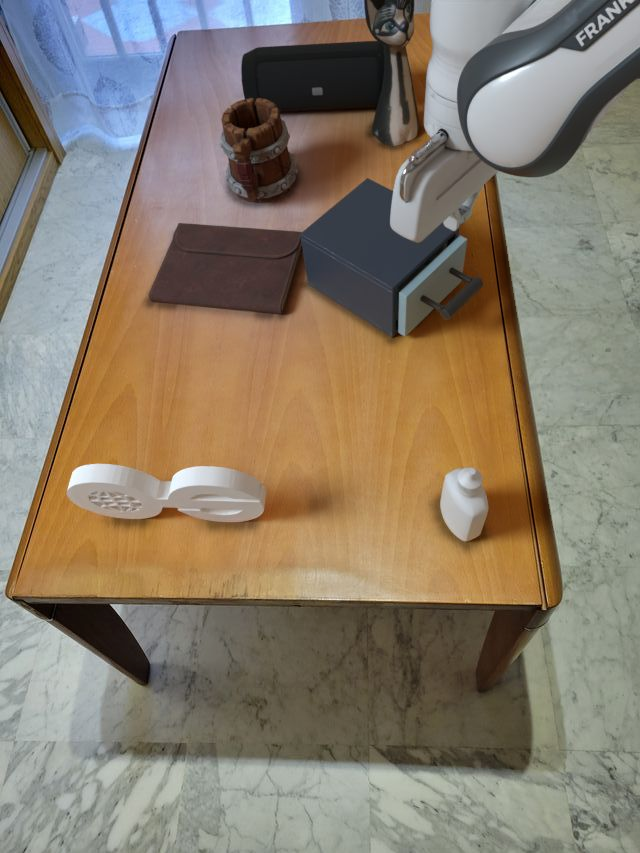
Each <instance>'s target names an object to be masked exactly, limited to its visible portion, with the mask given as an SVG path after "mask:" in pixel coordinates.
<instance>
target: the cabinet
mask: <svg viewBox="0 0 640 853" xmlns="http://www.w3.org/2000/svg"><path fill="white" fill-rule="evenodd" d="M392 196H393V190H392V189H390V188H389V187H387V186H384V185H382V184H381V183H378V182H376V181H374V180H372V179H370V177H369V178H368V177H366V178H365V179H364V180H363V181H362V182H361V183H360V184H358V185H357V186H356V187H354V188H353V189H352V190H350V192H348V193H347V194H346V195H345V196H343V197H342V198H341V199H340V200H339V201H338V202H336V203H335V204H334V205H333V206H331V208H329V209H328V210H327V211H326V212H324V213H323V214H322V215H321V216H320V217H319V218H317V219H316V220H315V221H314V222H312V223H311V224H310V225H309V226H308V227H306V228H305V229H304V230H302V231H301V232H302V233H300V236H301V242H302V253H303V260H304V267H305V268H304V269H305V274H306V279H307V285H308V286H310V287H311V288H313V289H314V290H316V291H318V292H319V293H320V294H322V295H324V296H325V297H326V298H328V299H330V300H332V301H333V302H334V303H336V304H338V305H339V306H341V307H343V308H344V309H346V310H347V311H349V312H350V313H352V314H354V315H355V316H356V317H359V318H360V319H361V320H363V321H365V323H368V324H370V325H371V326H372V327H374V328H376V329H377V330H379V331H380V332H382V333H384V334H385V335H387V336H389V337H390V338H394V337H395V335H397V334H399V333H398V322H399V319H397V320H396V289H397V288H398V287H399V286H400V285H401V284H402V283H403V282H404V281H406V280H407V279H408V278H409V277H410V276H411V275H412V274H413V273H414V272H415V271H416V270H417V269H418V268H419V267H420V266H421V265H423V264H424V263H425V262H426V261H427V260H428V259H429V258H430V257H431V256H432V255H433V254H434V253H435V252H436V251H437V250H439V249H440V248H441V247H442V246H443V245H444V244H445V243H446V242H447V247H448V246H449V245H450V244H451V243H452V242H453V241H454V240H455V239H456V238H457V237H459V236H460V227H461V226H460V227H459V228H458V229H457V230H456V231H452V230H450V229H448V228H446V227H445V226H444V223H443V222H442V223H441V224H440V225H439V226H438V227H437V228H436V229H435V230H434V231H433V232H432V233H430V234H429V235H428V236H427V237H426V238H425V239H424V240H423V241H422V242H420V243H416V242H413V241H411V240H408V239H406V238H404V237H402V236H401V235H399V234H398V233H396V232H395V231H394V230H393V229H392V228H391V226H390V213H391V203H392Z"/></svg>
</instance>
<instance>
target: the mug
mask: <svg viewBox="0 0 640 853" xmlns="http://www.w3.org/2000/svg"><path fill="white" fill-rule="evenodd" d="M221 125H222V131H221V135H220V140H221V142H219V147H220V148H221V149H222V152H223V153H224V155H225V156H226V157H227V159H228V163H227V166H226V170H225V173H226V175H225V176H224V181H226V182H227V183H228V187H229V188H230V189H231V191H232V192H233V193H234V194H235V195H236V196H237V197H238V198H239V199H241V200H244V201H246V202H249V203H254V204H255V203H258V202H259V203H260V204H263V203H270V202H273V201H276V200H279V199H281V198H282V197H283V196H285V195H286V194H288V192H290V191H291V189H293V187H294V186H295V182H296V179H297V175H298V174H299V169H298V167H297V162H296V159H295V156H294V154H293V153H291V152H290V151H289V148H288V145H289V141H290V138H291V135H290V134H291V133H289V130H288V126H287V124H286V120H284V119H283V118H282V117H281V111H279V109H278V108H277V106H276V105H275V104H274V103H273V102H272V101H269V100H266V99H263V98H257V99H256V101H255V100H254V98H249V99H245V98H244V99H240V100H238V101H236V102H234V103H232V104H231V105H230V107H227V108H226V109H225V111H224V112H223V113H222V116H221Z"/></svg>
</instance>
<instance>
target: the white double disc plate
mask: <svg viewBox="0 0 640 853" xmlns="http://www.w3.org/2000/svg"><path fill="white" fill-rule="evenodd" d="M266 495H267V489H266V486H265V484H264V483H261V480H259V479H258V478H256V477H255V476H253V475H251V474H248V473H246V472H243V471H241V470H237V469H233V468H230V467H223V466H213V465H211V466H209V465H202V466H201V465H198V466H191V467H186V468H183V469H181V470H179V471H177V472H175V474H174V475H173V476H172V478H171V480H160V479H158V478H157V477H155V476H153V475H151V474H149V473H147V472H145V471H142V470H139V469H137V468H133V467H129V466H125V465H119V464H112V463H88V464H84V465H81V466H78V467H76V468H75V469H73V471H72V473H71V476H70V479H69V482H68V486H67V488H66V497H67V499H69V500H70V501H71V502H72V503H73V504H74V505H76V506H77V507H79V508H81V509H84V510H86V511H88V512H91V513H94V514H98V515H101V516H105V517H110V518H116V519H122V520H123V519H124V520H143V519H148V518H154V517H156V516H158V515H159V514H161V513H162V510H163V508H177V511H179V512H180V513H183V514H185V515H188V516H191V517H193V518H196V519H199V520H205V521H210V522H219V523H240V522H241V523H242V522H248V521H252V520H254V519H257V518H259V517H261V515H262V514H263V513H264V511H265V505H266Z"/></svg>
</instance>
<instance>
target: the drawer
mask: <svg viewBox="0 0 640 853" xmlns="http://www.w3.org/2000/svg"><path fill="white" fill-rule="evenodd" d="M467 244H468V238H466V237H464V236H463V235H461V234H459V237H457V238H456V239H455V240H454V241H453V242H452V243H451V244H450V245H449V246H448V247H447V242H446V243H445V244H444V245H443V246H442V247H441V248H440V249H439V250H437V251H436V252H435V253H434V254H433V255H432V256H431V257H430V258H429V259H428V260H427V261H426V262H425V263H424V264H423V265H421V266H420V267H419V268H418V269H417V270H416V271H415V272H414V273H413V274H412V275H411V276H410V277H409V278H408V279H407V280H406V281H404V282H403V283H402V284H401V285H400V286H399V287H398V288H397V289H396V320H397V319H399V322H398V333H397V334H399V335H401V336H402V337H404V338H406V337H407V336H408V335H409V334H410V333H411V332H412V331H413V330H414V329H415V328H416V327H417V326H418V325H419V324H420V323H421V322H422V321H423V320H424V319H425V318H426V317H427V316H428V315H429V314H430V313H431V312H432V311H433V310H435V311H437V312H439V315H440V316H441V318H443V319H444V320H445V321H449V320H451V319H452V318H453V317H454V316H455V315H456V314H457V313H458V312H459V311H460V310H461V309H462V308H463V307H464V306H465V305H466V304H467V303H468V302H469V301H470V300H471V299H472V298H473V297H474V296H475V295H476V294H477V293H478V292H479V291H480V290H481V289H482V288H483V286H484V281H483V279H482V278H480V276H474V277H471V276H469V275H467V274H465V273H464V266H465V259H466V251H467ZM462 282H465V283H467V284H465V285H464V286H463V288H461V290H459V292H458V293H457V294H455V295H454V296H453V297H452V298H451V299H450V300H449V301H448V303H446V305H441V304H440V303H442V301H443V300H445V298H447V297H448V295H450V294H451V293H452V292H453V291H454V289H456V288H457V287H458V286H459V285H460V284H461V283H462Z"/></svg>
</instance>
